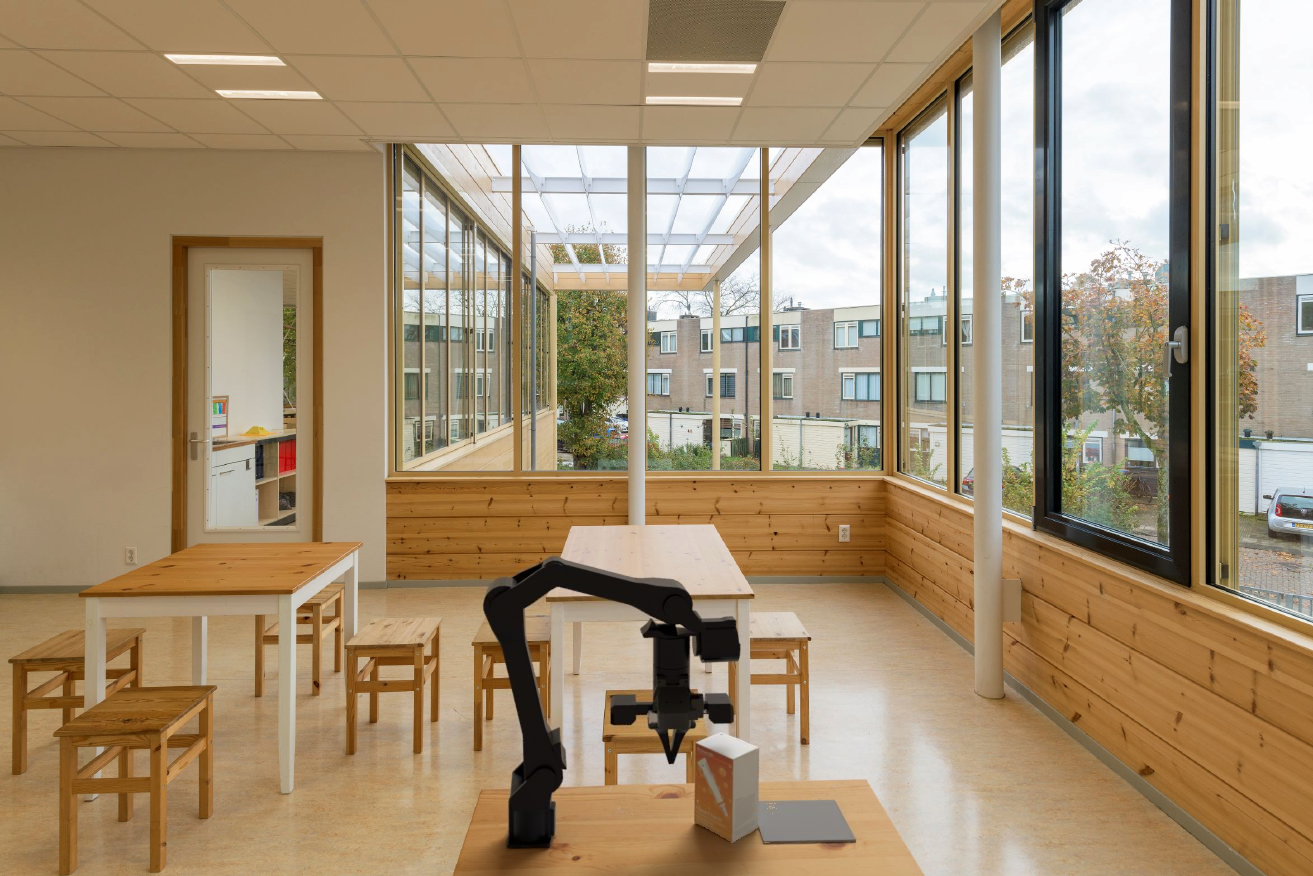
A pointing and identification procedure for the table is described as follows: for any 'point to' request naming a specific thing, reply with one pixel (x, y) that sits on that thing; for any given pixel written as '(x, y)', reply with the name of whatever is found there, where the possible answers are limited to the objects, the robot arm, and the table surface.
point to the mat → (803, 822)
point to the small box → (726, 786)
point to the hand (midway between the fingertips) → (671, 763)
